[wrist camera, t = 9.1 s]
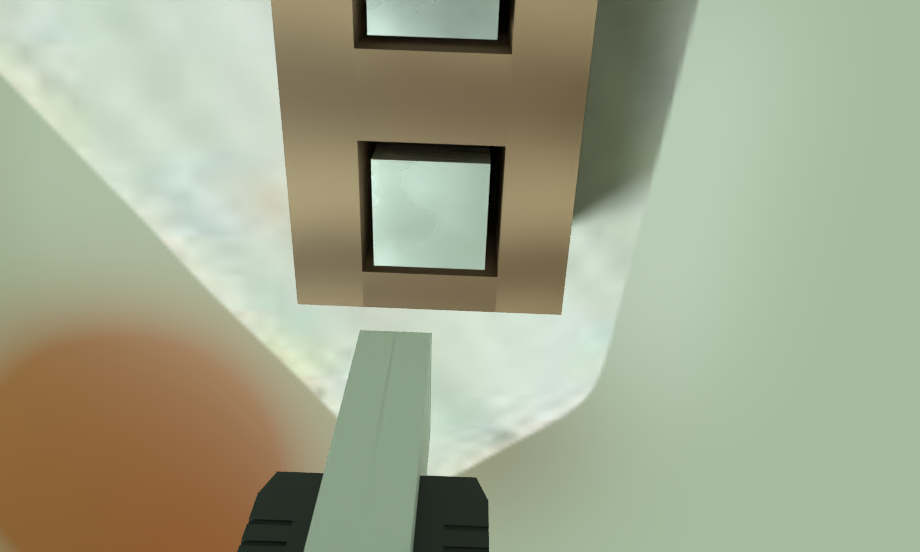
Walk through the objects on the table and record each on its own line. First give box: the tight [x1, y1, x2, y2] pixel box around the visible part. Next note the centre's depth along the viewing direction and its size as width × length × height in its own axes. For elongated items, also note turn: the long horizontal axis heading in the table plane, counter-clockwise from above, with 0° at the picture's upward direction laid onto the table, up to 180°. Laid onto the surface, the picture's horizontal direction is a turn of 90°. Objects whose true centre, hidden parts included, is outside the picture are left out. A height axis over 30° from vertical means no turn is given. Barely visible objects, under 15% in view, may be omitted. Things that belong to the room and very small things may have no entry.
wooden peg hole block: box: [271, 0, 598, 315], centre depth 26 cm, size 16×10×7 cm, turn 178°
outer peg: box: [371, 141, 490, 270], centre depth 27 cm, size 4×4×6 cm
